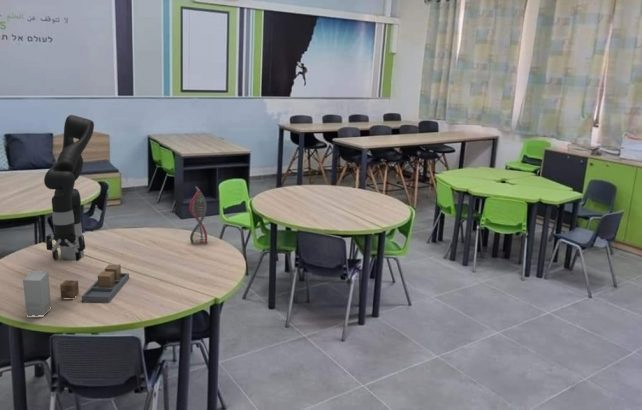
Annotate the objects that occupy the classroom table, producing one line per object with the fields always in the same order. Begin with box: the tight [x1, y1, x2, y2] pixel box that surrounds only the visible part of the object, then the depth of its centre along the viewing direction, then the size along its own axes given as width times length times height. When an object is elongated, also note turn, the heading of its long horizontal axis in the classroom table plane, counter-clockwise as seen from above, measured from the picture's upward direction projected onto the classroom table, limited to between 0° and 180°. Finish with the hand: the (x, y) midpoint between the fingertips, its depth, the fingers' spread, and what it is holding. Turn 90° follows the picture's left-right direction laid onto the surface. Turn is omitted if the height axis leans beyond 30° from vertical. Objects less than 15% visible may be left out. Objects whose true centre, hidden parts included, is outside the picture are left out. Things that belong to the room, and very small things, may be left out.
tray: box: [81, 263, 130, 303], centre depth 230 cm, size 11×24×7 cm, turn 0°
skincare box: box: [22, 270, 52, 316], centre depth 207 cm, size 8×7×16 cm
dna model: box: [188, 185, 208, 245], centre depth 285 cm, size 9×9×30 cm
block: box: [59, 279, 80, 299], centre depth 223 cm, size 5×5×6 cm
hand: (67, 260), depth 219 cm, fingers open, 8 cm apart
